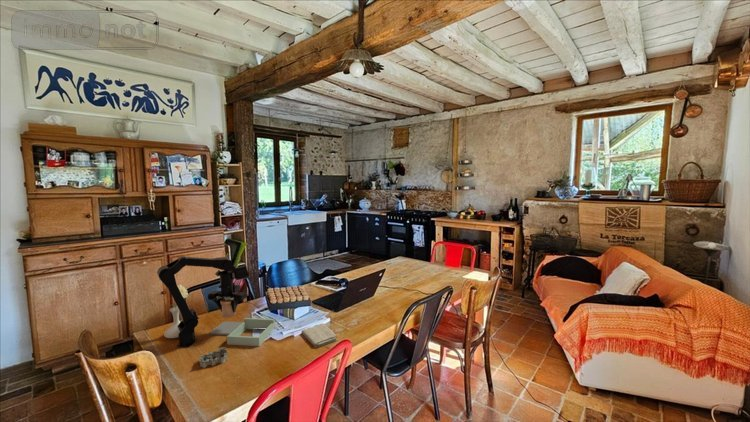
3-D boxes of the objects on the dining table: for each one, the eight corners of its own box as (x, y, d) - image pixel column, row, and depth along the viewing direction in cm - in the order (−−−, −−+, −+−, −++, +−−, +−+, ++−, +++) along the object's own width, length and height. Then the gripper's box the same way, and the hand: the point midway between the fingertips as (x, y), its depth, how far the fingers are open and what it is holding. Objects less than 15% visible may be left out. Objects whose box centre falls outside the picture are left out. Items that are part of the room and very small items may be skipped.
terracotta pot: (230, 318, 157) (229, 302, 156) (218, 317, 158) (217, 302, 158) (239, 312, 164) (238, 297, 163) (226, 311, 165) (225, 296, 164)
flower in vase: (178, 341, 152) (173, 291, 149) (158, 339, 154) (153, 290, 151) (198, 328, 165) (194, 282, 162) (179, 327, 167) (175, 281, 164)
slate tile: (231, 335, 157) (231, 333, 157) (209, 334, 158) (209, 332, 158) (244, 324, 168) (244, 322, 168) (224, 323, 170) (223, 321, 170)
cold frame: (259, 346, 146) (258, 334, 145) (227, 344, 148) (226, 333, 148) (274, 329, 162) (274, 319, 161) (245, 328, 164) (245, 317, 163)
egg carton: (228, 354, 141) (227, 345, 140) (227, 363, 134) (226, 354, 133) (201, 359, 137) (200, 351, 136) (198, 369, 130) (197, 360, 129)
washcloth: (315, 350, 143) (315, 343, 142) (300, 334, 157) (300, 328, 157) (339, 341, 150) (338, 335, 149) (322, 327, 164) (321, 321, 164)
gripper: (252, 278, 166) (253, 306, 168) (220, 276, 169) (222, 304, 171) (239, 285, 155) (241, 315, 157) (205, 283, 158) (208, 313, 160)
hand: (228, 311), depth 161 cm, fingers closed on terracotta pot, 6 cm apart
